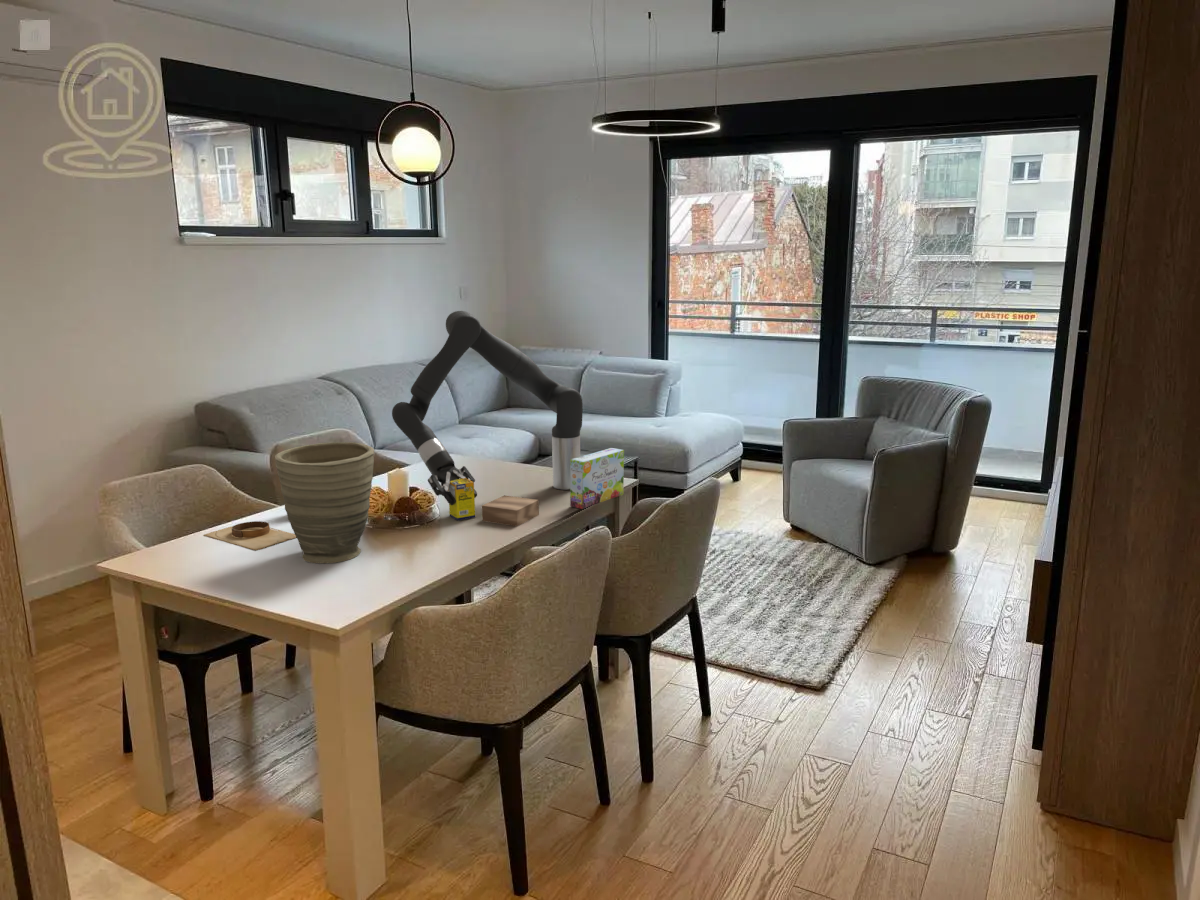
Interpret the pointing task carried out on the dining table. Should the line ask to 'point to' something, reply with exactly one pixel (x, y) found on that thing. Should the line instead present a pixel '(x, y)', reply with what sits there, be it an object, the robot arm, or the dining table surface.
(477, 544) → the dining table surface
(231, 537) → the board
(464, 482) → the supplement box
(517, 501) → the walnut block
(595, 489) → the snack box
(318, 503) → the vase
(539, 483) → the dining table surface
